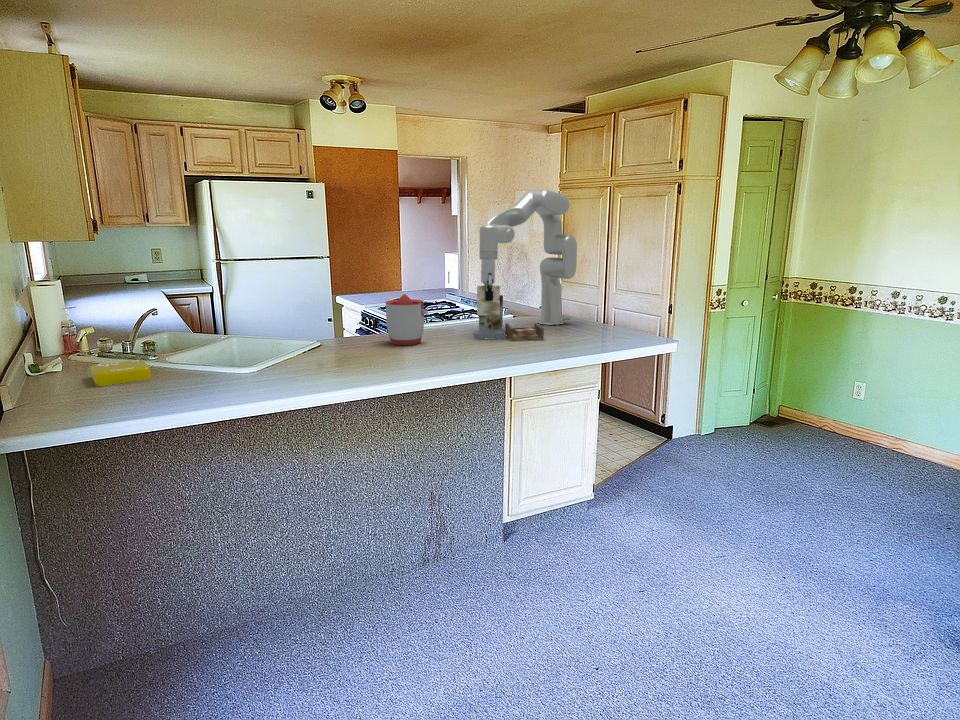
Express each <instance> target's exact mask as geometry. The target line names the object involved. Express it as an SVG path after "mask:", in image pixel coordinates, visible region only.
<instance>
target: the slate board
mask: <svg viewBox="0 0 960 720" xmlns="http://www.w3.org/2000/svg"><path fill="white" fill-rule="evenodd" d="M504 336H505V333H504V331H503V329H502V330H479V329H476V330H475V329H474V330H473V337H475V338H474V339H478V340H486V339H485V338H504V339H505V337H504Z"/></svg>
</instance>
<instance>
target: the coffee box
mask: <svg viewBox="0 0 960 720" xmlns="http://www.w3.org/2000/svg"><path fill="white" fill-rule="evenodd" d="M503 306H504V295H503V294H502V295H501V294H500V315H478V316H479V317H478V330H502V331H503V325H504V324H503V319H504V316H503V315H504V314H503V313H504V312H503V311H504V307H503Z"/></svg>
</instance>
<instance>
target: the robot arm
mask: <svg viewBox="0 0 960 720" xmlns="http://www.w3.org/2000/svg"><path fill="white" fill-rule="evenodd" d="M569 208H570V201H569V199H568V197H567V196H565V194H562V193H560V192H559V193H558V192H555V191H553V190H549V189H533V190H528V191H526V193H524V194H523V195H522V196H521V197H520V198H519V199H518V200H517V202H516V203H515V204H513V206H512V207H511V208H508V209H506V210H504V211H503V212H500V213H499V214H496V215H495V216H493V217H492V218H491V219H490V220H489V221H488V222H487V223H486V224H484V225H480V228H479V260H481V265H480V266H481V267H480V268H481V269H480V282H481V284H483V286H486V291H485V300H486V301H493V285H494V283H495V280H496V279H495V278H496V261H497V260H498V255H499V253H498V252H499V250H498V247H499V244H509V243H511V242H513V240H514V238H515V235H516V233H515V230H514V228H513V227H517V226H519V225H523V224H524V223H526V222H527V221H528V220H529V219H530V218H531V216H532V215H533V214H534V213H536V214H538V215H539V217H540V218H541V221H542V224H543V251H544V252H545V253H546V254H548V255H555V256H562V257H555V256H553V257H551V256H550V257H545V258H543V259H542V260H541V261H540V265H539V271H540V278H541V279H540V280H541V292H540V293H541V300H540V302H541V303H540V319H539V320H537V323H541V324H561V323H564V324H565V322H564V321H571V319H572V317H571V315H563V314H562V294H563V293H562V292H563V290H562V289H563V287H562V284H561V281H560V279H567V280H570V279H572V278H574V277H575V275H576V272H577V271H576V270H577V263H578V262H577V259H578V256H577V255H578V243H577V239H576V237H575V236H574V235H573V234H570V233H569V234H568V233H563V221H562V219H561V217H560V215H565V214H566V213H567V212H568V211H569Z"/></svg>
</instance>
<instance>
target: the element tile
mask: <svg viewBox="0 0 960 720" xmlns="http://www.w3.org/2000/svg"><path fill="white" fill-rule="evenodd" d="M89 368H90V375H91V380H92V379H93V380H92V381H94V382H93V384H94V383H95V384H94V385H96V386H95V387H97V386H103V387H105V386H104V385H110V386H112V385H111V384H117V385H119V384H118V383H124V384H126V383H125V382H131V381H138V380H144V379H149V378H151V379H152V374H151V367H150V366H149V364H148V363H147V362H146V361H144V360H142V359H133V360H125V361H117V362H110V363H108V362H105V363H104V362H102V363H98V364H93V365H91V366H90V367H89ZM138 382H139V381H138ZM131 383H132V382H131Z"/></svg>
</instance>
